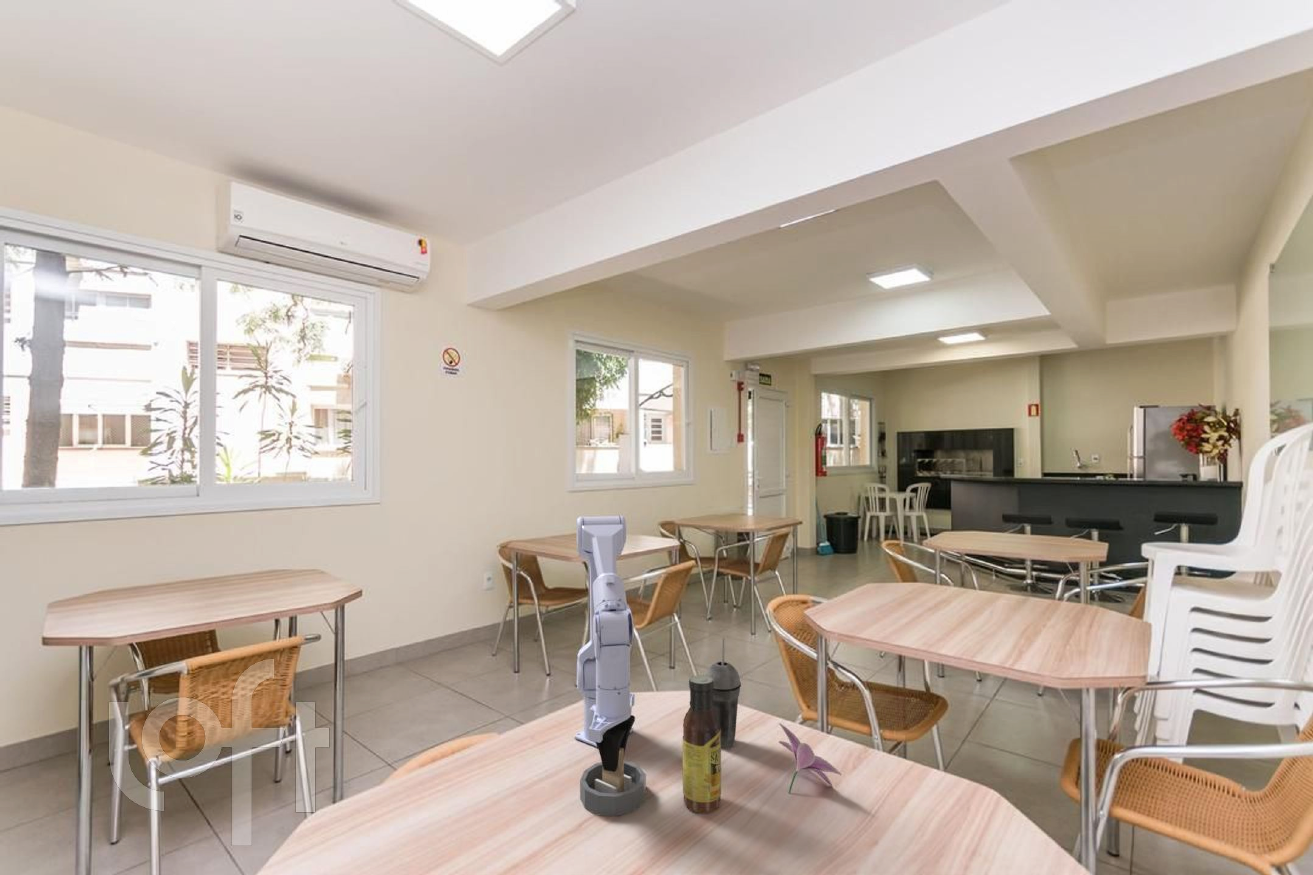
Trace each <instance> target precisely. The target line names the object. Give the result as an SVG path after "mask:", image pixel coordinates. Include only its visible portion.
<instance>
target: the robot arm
mask: <svg viewBox="0 0 1313 875" xmlns="http://www.w3.org/2000/svg"><path fill="white" fill-rule="evenodd" d="M626 541H627V522H626V518H625V517H624V516H623V515H621V514H620V515H615V516H613V515H612V516H608V515H607V516H579V517H578V518H577V519H576V547H577V548H576V552H577V553H578V557H581V558H582V559H585V560H586V562H587V564H588V565H587V566H588V568H589V610H590V611H589V612H590V613H589V614H590V615H589V616H590V617H589V618H590V619H589V623H590V639H589V641H588V642H587V643H586V644H585V645H584V646H582V647H581V648H580V649H579V650H578V653H577V662H576V686H577V687H576V688H577V690H578V691H579V693H583V730H581V731H579V732H578V733H576V734H574V736H573V737H574V739H576V740H579V741H581V742H583V743H586V744H589V745H591V746H594V747H596V748H597V750H598V752H599V756H600V760H601V761H600V762H602V765H603V768H604V770H607V771H612V772H615V771H616V769H617V766H618V759H619V750H620V748H624V755H625V753H626V748H627V743H628V739H629V735H630V734H631V733H632V732H634V727H633V726H634V723H635V721H636V717H635V715H632V712H633V711H632V709H633V708H632V707H634V705H635V693H631V646H632V645H633V644H634V636H635V630H634V629H635V626H634V625H635V624H634V618H633V614H632V610H631V608H630V604H628V602H627V594H626V589H625V582H624V579H623V578H622V577H621V576H620V575H617V558H618V557H619V556H621V555H622V552H623V551H624V548H625V545H626Z"/></svg>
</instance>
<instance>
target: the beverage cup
mask: <svg viewBox="0 0 1313 875" xmlns="http://www.w3.org/2000/svg"><path fill="white" fill-rule="evenodd" d="M705 675H706V676H709V677H711V678H712V679H713V683H714V688H713V707H714V710H715V713H716V716H717V719H718V722H719V725H720V728H721V750H722V749H723V750H725V749H731V748H732V747H734V746H735V741H736V740H735V739H736V733H737V732H736V730H737V719H738V706H739V705H738V704H739V696H740V694H741V693H740V692H741V687H742V683H741V678H740V675H739V673H738V671H737V669H736V668H735V666H733V665H732V664H731V663H729V662H726V661H725V638H724V637H722V638H721V661H717V662H714V663H713V664H712V665H711V666H710V667H709V668H708V669H707V671H706V673H705Z"/></svg>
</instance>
